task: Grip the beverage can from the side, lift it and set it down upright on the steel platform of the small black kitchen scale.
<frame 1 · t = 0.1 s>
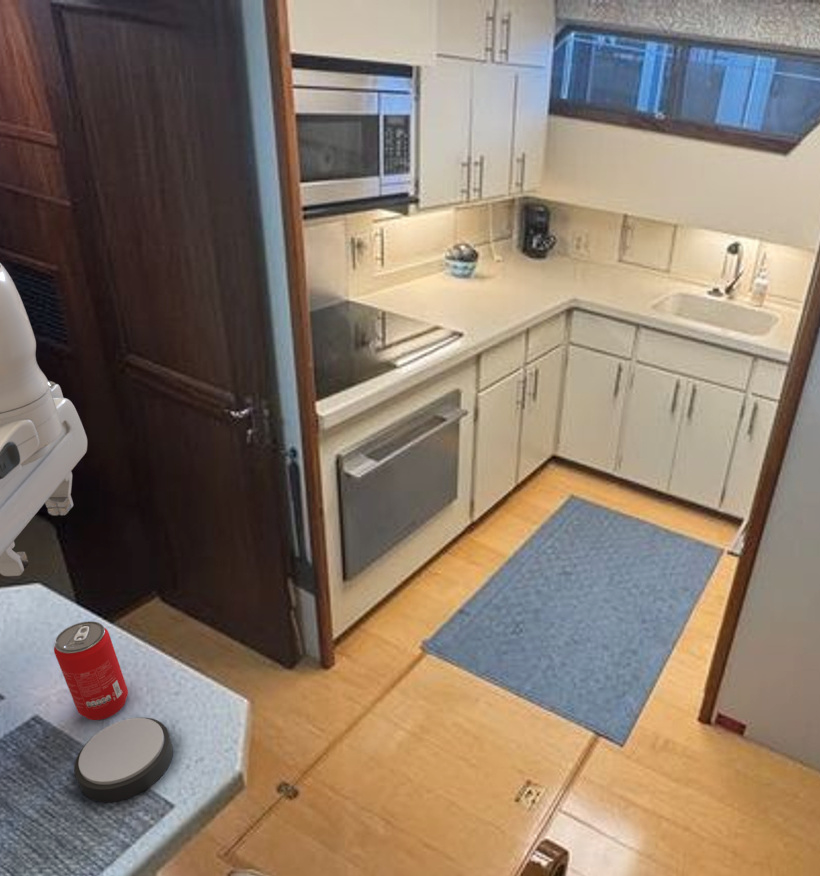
hand: (40, 539, 70), 27 cm above the counter, tool pointing down, fingers open, 8 cm apart
beverage can: (105, 706, 85), on the counter
scale: (127, 764, 79), on the counter
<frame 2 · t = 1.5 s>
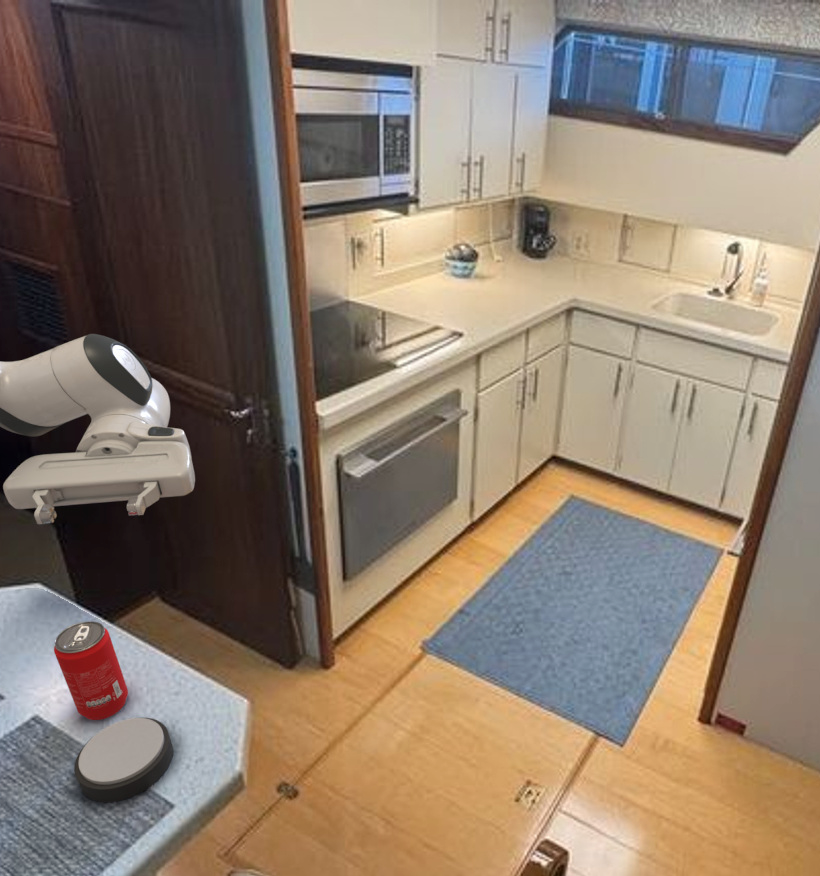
hand: (89, 515, 84), 21 cm above the counter, tool horizontal, fingers open, 8 cm apart
nothing on the counter moved.
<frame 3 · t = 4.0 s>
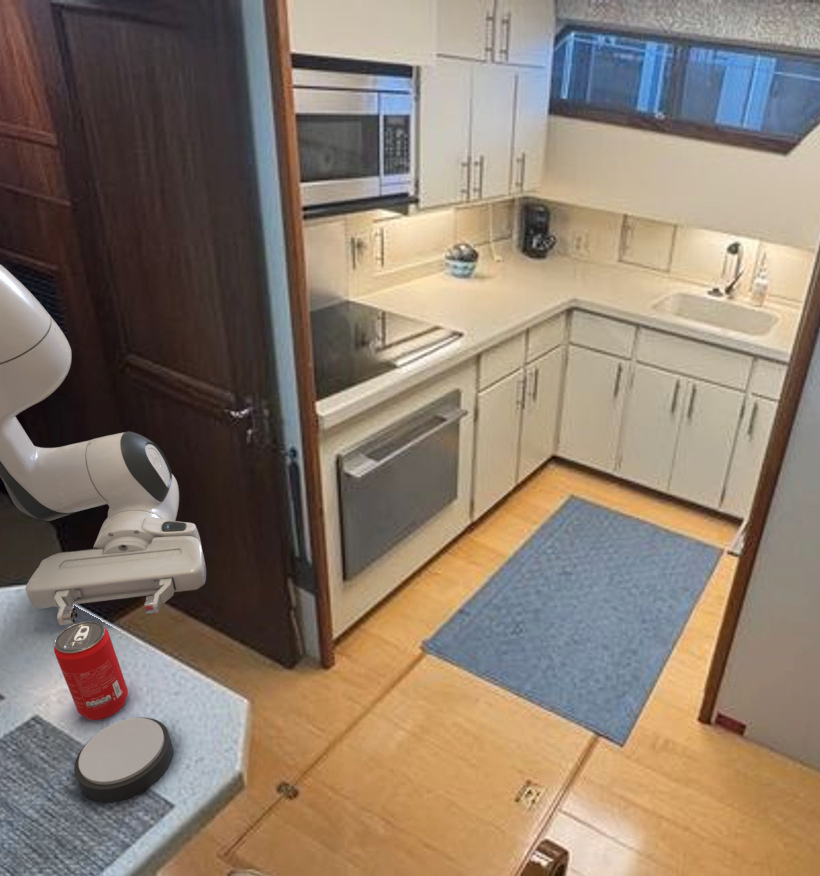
hand: (109, 615, 89), 6 cm above the counter, tool horizontal, fingers open, 8 cm apart
nothing on the counter moved.
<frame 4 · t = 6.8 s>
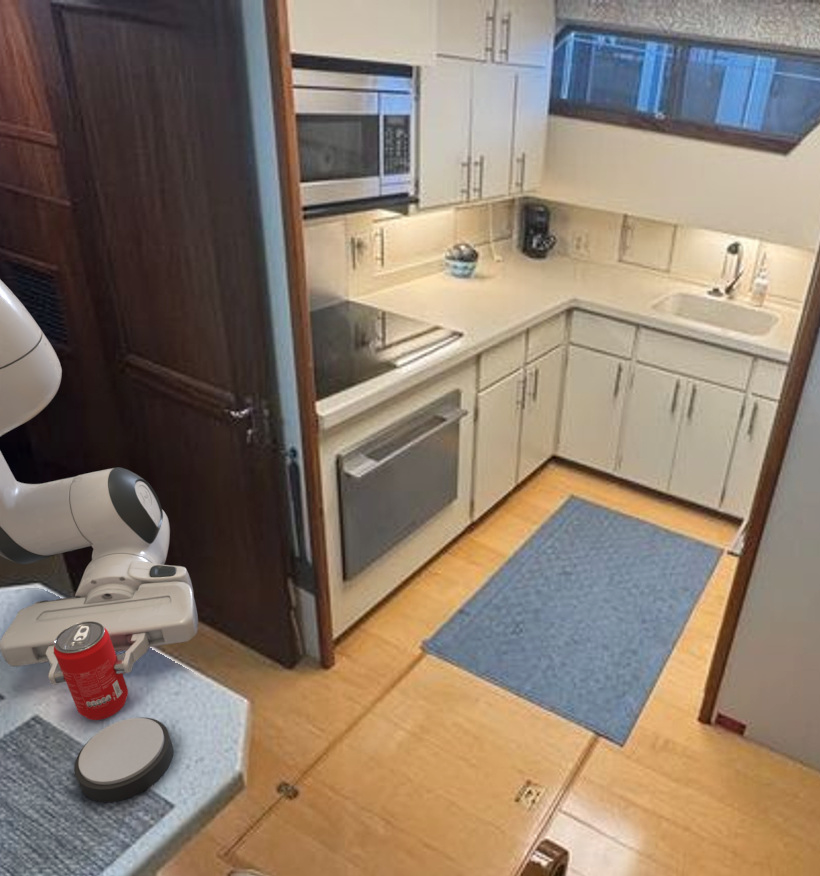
hand: (90, 674, 81), 7 cm above the counter, tool horizontal, fingers closed on beverage can, 5 cm apart
beverage can: (105, 706, 85), on the counter, touching gripper
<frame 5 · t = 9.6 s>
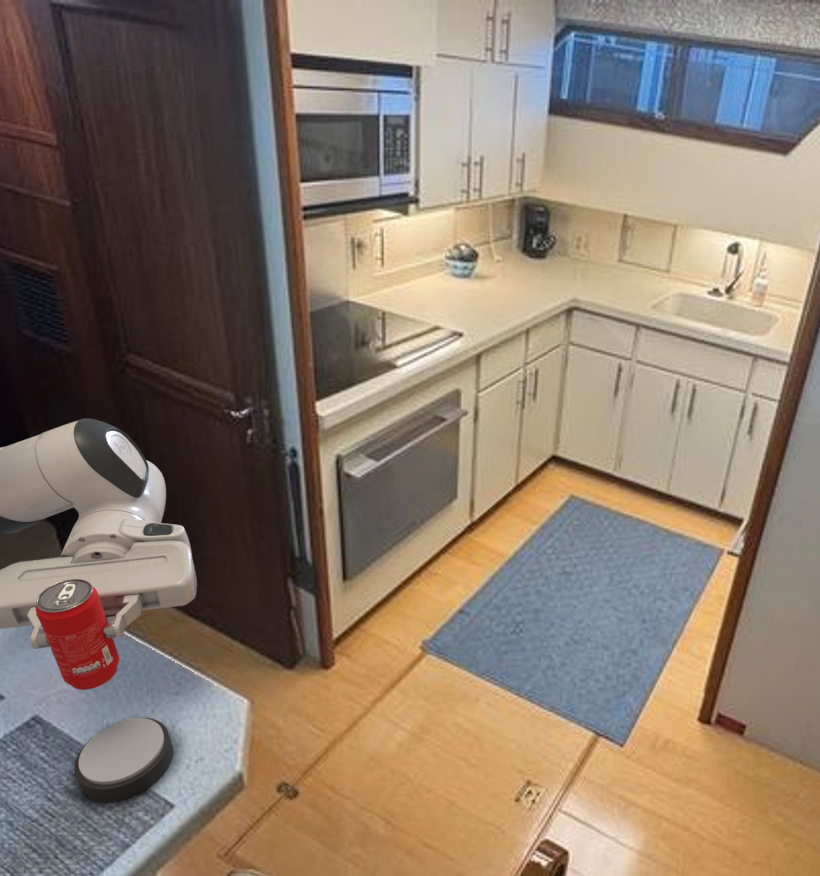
hand: (77, 638, 73), 17 cm above the counter, tool horizontal, fingers closed on beverage can, 5 cm apart
beverage can: (94, 675, 77), point 10 cm above the counter, touching gripper
when the fingers open (10 cm above the counter, at t = 12.9 s): beverage can stays where it is, resting on scale.
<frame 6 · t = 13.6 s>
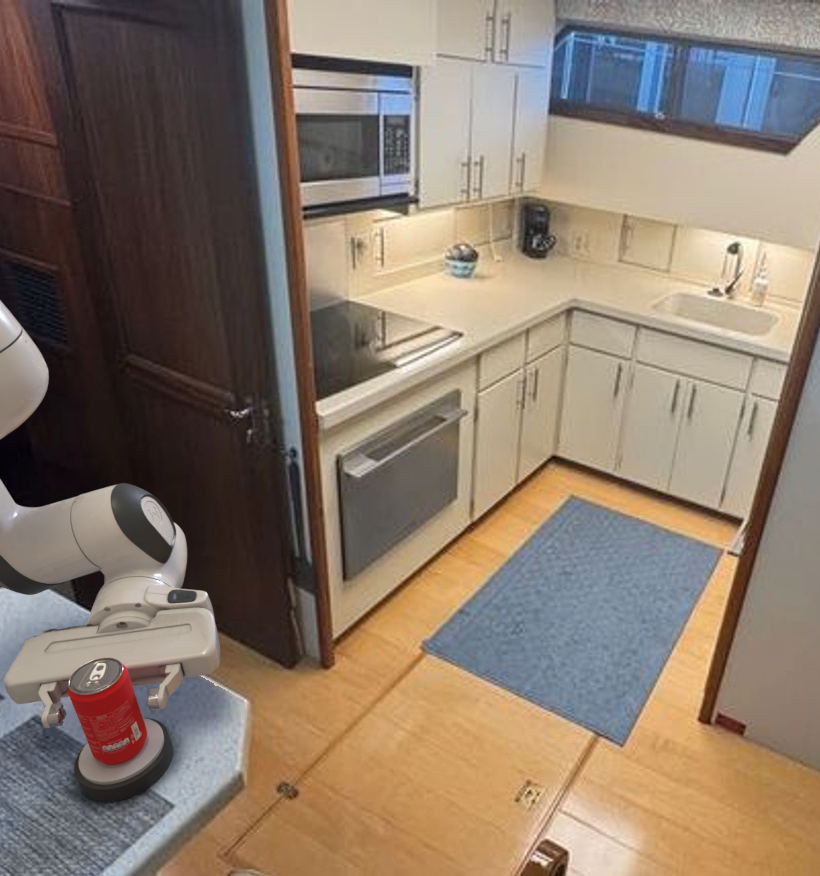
hand: (104, 714, 73), 10 cm above the counter, tool horizontal, fingers open, 8 cm apart
beverage can: (122, 748, 78), point 3 cm above the counter, touching scale
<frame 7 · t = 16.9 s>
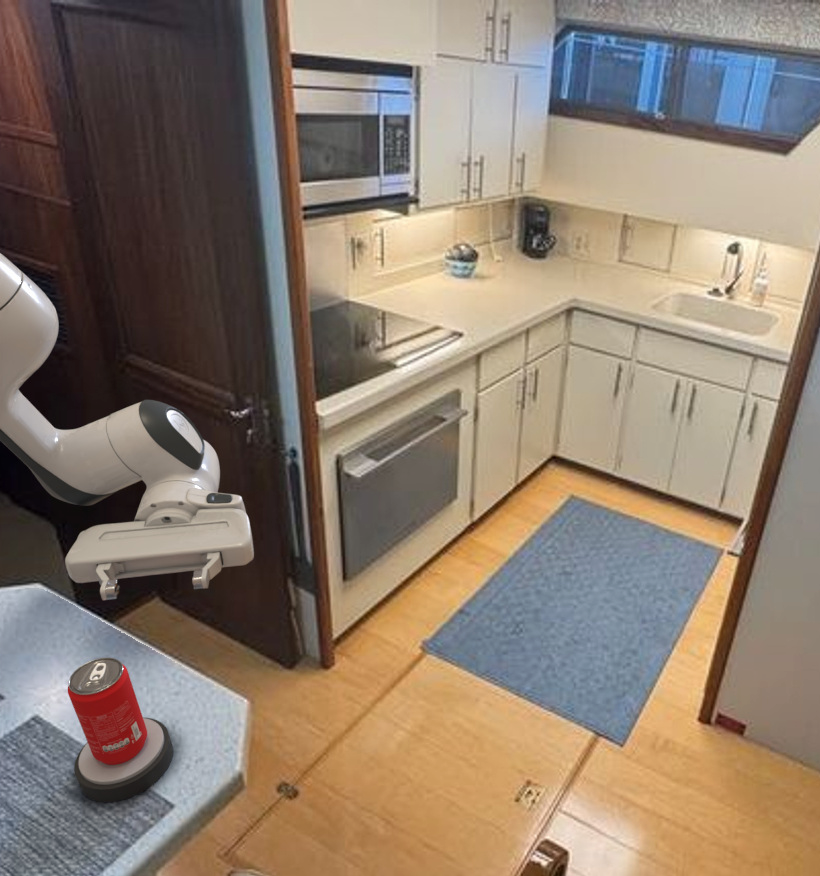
hand: (155, 590, 82), 15 cm above the counter, tool horizontal, fingers open, 8 cm apart
nothing on the counter moved.
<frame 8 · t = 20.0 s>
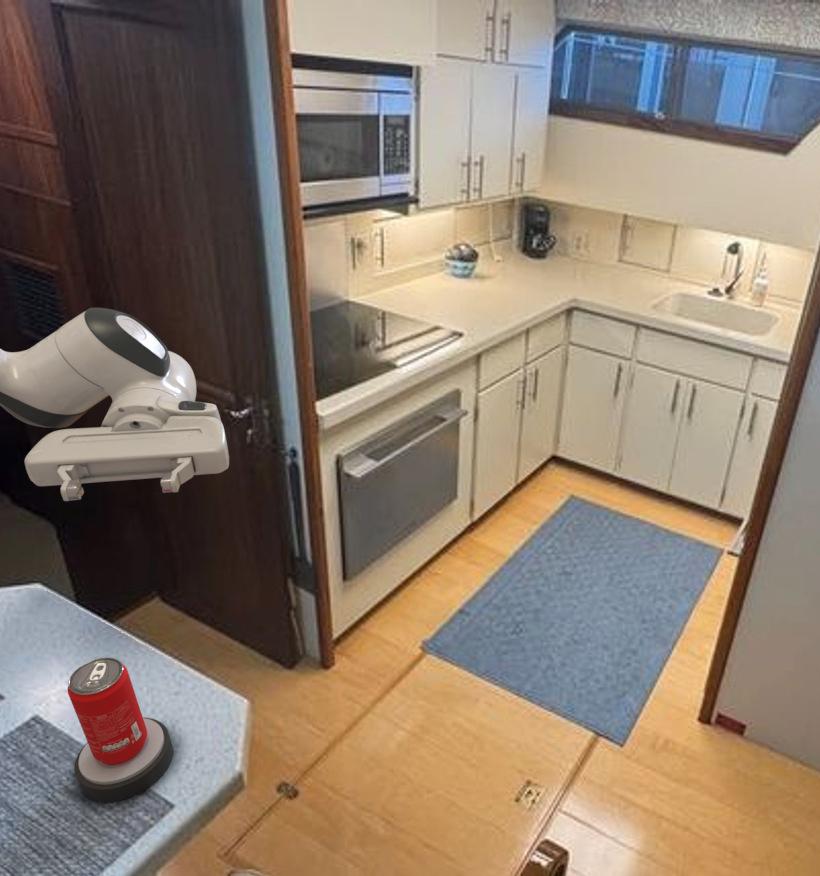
hand: (120, 491, 77), 28 cm above the counter, tool horizontal, fingers open, 8 cm apart
nothing on the counter moved.
at the end: beverage can 0.1 cm off-centre on the scale, point 2.8 cm above the scale's base; beverage can tilted 0°; the gripper is holding nothing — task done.
